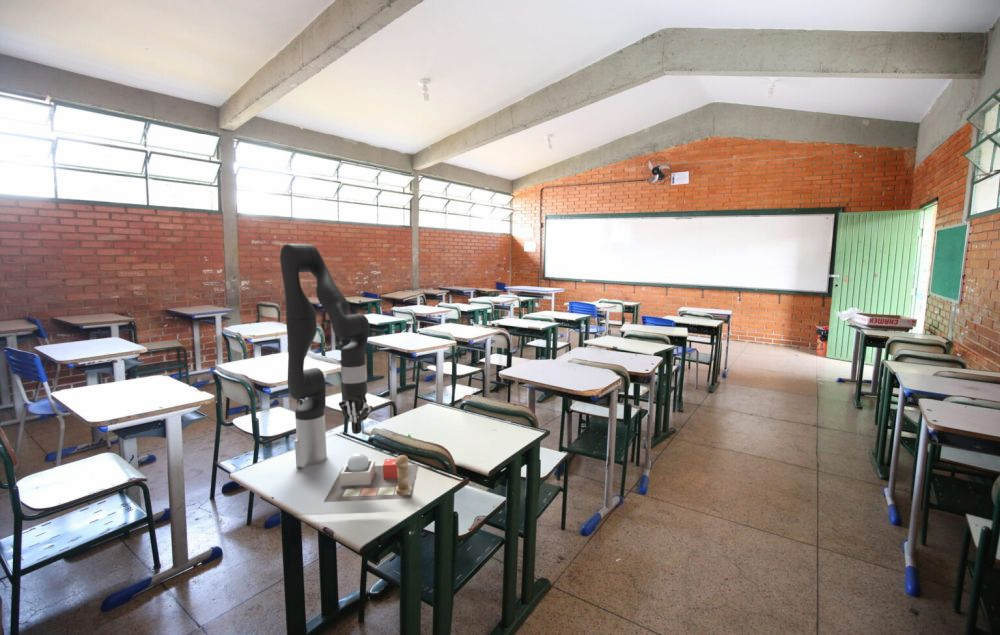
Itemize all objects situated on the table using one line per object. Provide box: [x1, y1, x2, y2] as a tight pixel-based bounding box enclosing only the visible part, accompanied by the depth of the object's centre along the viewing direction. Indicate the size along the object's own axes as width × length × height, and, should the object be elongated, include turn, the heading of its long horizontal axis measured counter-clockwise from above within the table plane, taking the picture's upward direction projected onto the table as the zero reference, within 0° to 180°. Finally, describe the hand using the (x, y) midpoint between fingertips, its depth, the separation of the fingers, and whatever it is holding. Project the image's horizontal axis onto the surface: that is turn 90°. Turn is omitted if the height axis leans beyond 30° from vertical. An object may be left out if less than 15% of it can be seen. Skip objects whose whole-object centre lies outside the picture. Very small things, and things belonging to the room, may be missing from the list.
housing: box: [339, 459, 376, 486], centre depth 148 cm, size 9×9×4 cm
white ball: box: [346, 452, 369, 472], centre depth 148 cm, size 6×6×6 cm
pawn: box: [395, 454, 410, 494], centre depth 140 cm, size 4×4×11 cm
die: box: [382, 458, 398, 479], centre depth 150 cm, size 4×4×4 cm
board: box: [323, 464, 419, 503], centre depth 146 cm, size 25×22×2 cm
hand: (356, 432), depth 146 cm, fingers closed
